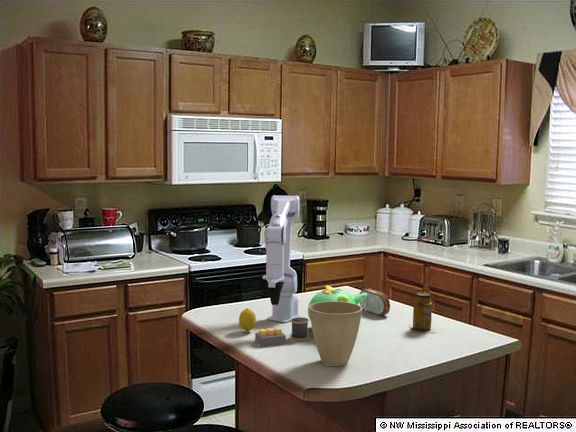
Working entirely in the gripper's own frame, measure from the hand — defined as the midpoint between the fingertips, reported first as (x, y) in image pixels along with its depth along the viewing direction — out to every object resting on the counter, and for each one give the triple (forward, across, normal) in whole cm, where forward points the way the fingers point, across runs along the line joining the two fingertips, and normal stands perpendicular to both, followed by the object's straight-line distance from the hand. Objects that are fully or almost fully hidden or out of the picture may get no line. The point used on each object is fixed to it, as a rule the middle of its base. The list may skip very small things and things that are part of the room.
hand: (275, 304), depth 200 cm
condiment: (+10, -12, +48) cm, 51 cm away
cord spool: (+10, +3, +8) cm, 13 cm away
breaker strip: (+10, +9, 0) cm, 14 cm away
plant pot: (+10, +24, +21) cm, 33 cm away
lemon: (+10, 0, -9) cm, 14 cm away
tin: (+10, -31, +32) cm, 46 cm away
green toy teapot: (+10, -6, +19) cm, 22 cm away
